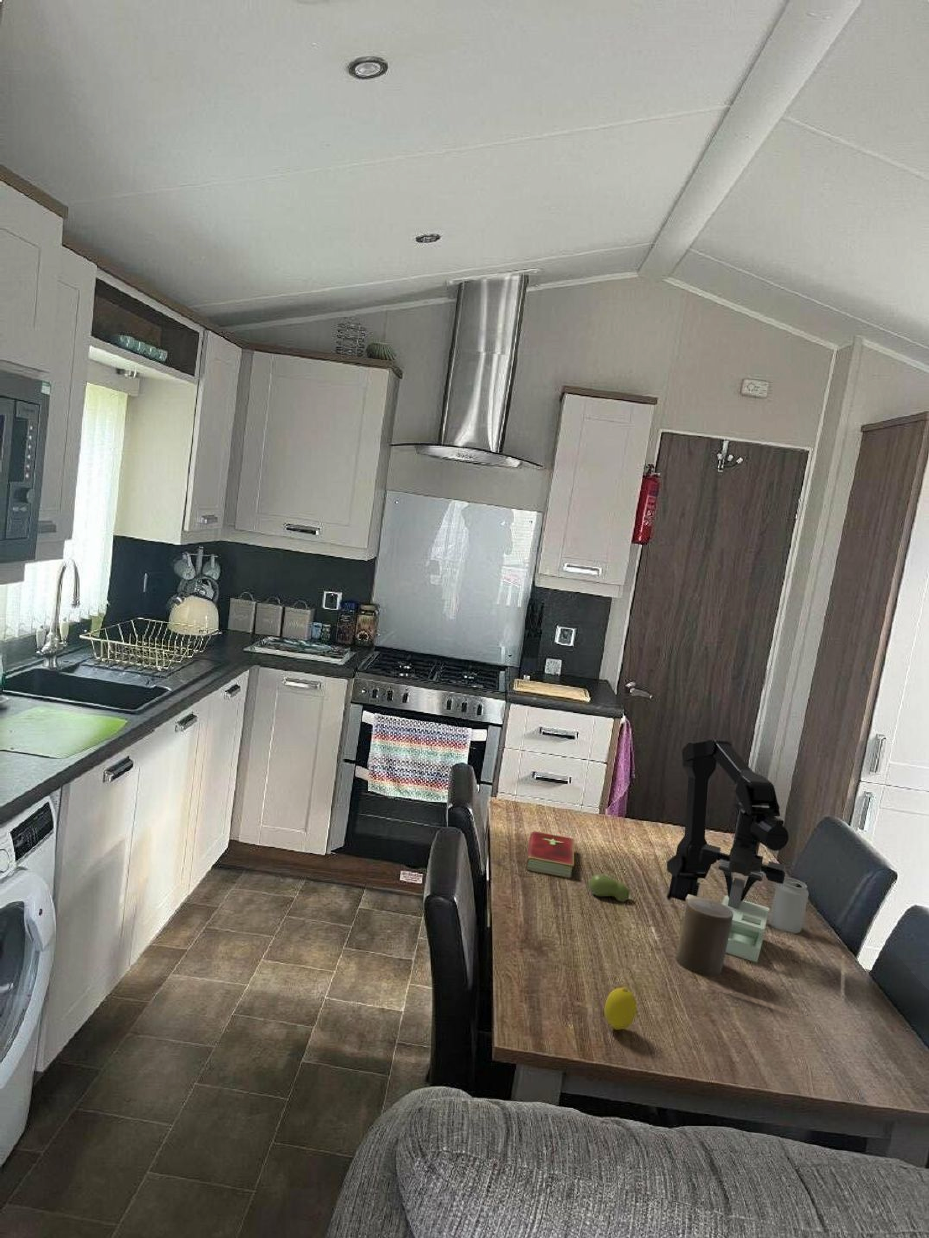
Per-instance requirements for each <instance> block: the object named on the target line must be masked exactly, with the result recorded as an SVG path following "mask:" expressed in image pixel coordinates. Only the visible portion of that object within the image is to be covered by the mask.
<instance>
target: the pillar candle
mask: <svg viewBox="0 0 929 1238" xmlns="http://www.w3.org/2000/svg"><path fill="white" fill-rule="evenodd" d="M698 897H699V896H698ZM698 897H696V898H691V899H689V900H688V901H687V906H686V911H685V916H684V920H683V925H682V930H681V932H680V935H679V940H678V946H677V949H676V952H675V957H674V959H675V962H676V963H677V964H678V965H680V966H681V967H683V968H684V969H685V970H687V971H689V972H691V973H695V974H698V975H702V976H708V977H709V976H711V977H714V976H718V975H720V974H722V972H723V966H724V964H725V963H724V962H725V958H726V954H727V953H726V948H727V943H728V939H729V934H730V929H731V924H732V919H733V911H732V909H730V908H729V907H727V906H725V905H723V904H722V902H718V901H716V900H711V899H708V898H702V897H700V898H698Z"/></svg>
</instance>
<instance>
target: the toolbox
mask: <svg viewBox="0 0 929 1238" xmlns="http://www.w3.org/2000/svg"><path fill="white" fill-rule="evenodd" d="M742 921H744V922H747V923H750V924H754V925H757V926H760V924H758V923H754V922H751V921H748V920H744V919H742ZM765 931H766V928H765V929H764V933H763V934H762V933H759V932H756V931H752V930H749V929H746V928H743V927H739V926H736V925H733V924H731V929H730V934H729V939H728V943H727V948H726V953H725V954H729V955H732V956H735V957H739V958H741V959H744V960H748V961H751V962H754V963H758V961H759V957H760V954H761V949H762V945H763V941H764V938H765V937H764V936H765Z"/></svg>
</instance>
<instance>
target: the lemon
mask: <svg viewBox="0 0 929 1238" xmlns="http://www.w3.org/2000/svg"><path fill="white" fill-rule="evenodd" d="M636 1014H637V1001H636V998H635V995H634V994H633V993H632V992H631V991H630V990H629V989H627V988H626V987H618V988H615V989H613V990H612V991H611V992H610V993H609V995H608V996H607V998H606V1001H605V1004H604V1016H605V1019H606V1021H607V1022H608V1024H609V1025H610V1026H612V1027H613V1029H614V1030H616V1031H619V1030H624V1029H627V1028H629V1027H630V1026H631V1025H632V1024H633V1022H634V1021H635V1017H636V1016H637V1015H636Z"/></svg>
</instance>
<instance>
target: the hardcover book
mask: <svg viewBox="0 0 929 1238" xmlns="http://www.w3.org/2000/svg"><path fill="white" fill-rule="evenodd" d="M525 861H526V862H525V863H526V864H525V870H526V871H532V872H537V873H543V874H548V875H554V876H558V877H563V878H569V879H571V876H572V870H573V868H574V867H575V838H574V837H567V836H563V835H562V836H561V835H557V834H551V833H547V832H541V831H536V830H532V831H531V832H530V834H529V840H528V848H527V854H526V860H525Z"/></svg>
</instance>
